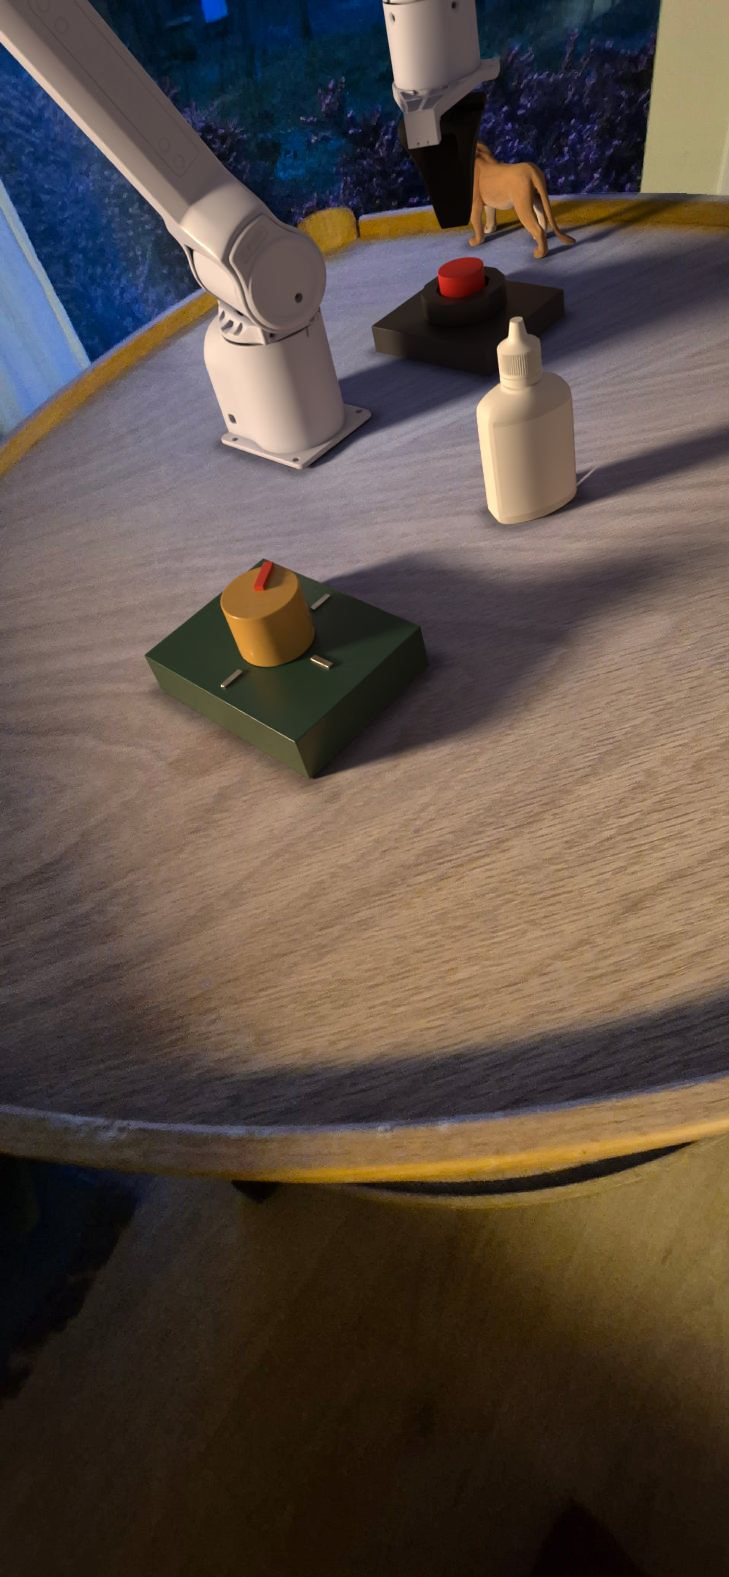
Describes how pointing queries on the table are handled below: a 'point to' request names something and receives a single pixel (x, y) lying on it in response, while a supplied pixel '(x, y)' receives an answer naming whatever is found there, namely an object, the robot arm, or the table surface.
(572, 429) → the eye dropper bottle
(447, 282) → the red button
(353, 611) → the control panel
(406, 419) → the table surface
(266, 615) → the dial knob
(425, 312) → the button box
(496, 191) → the lion figurine
